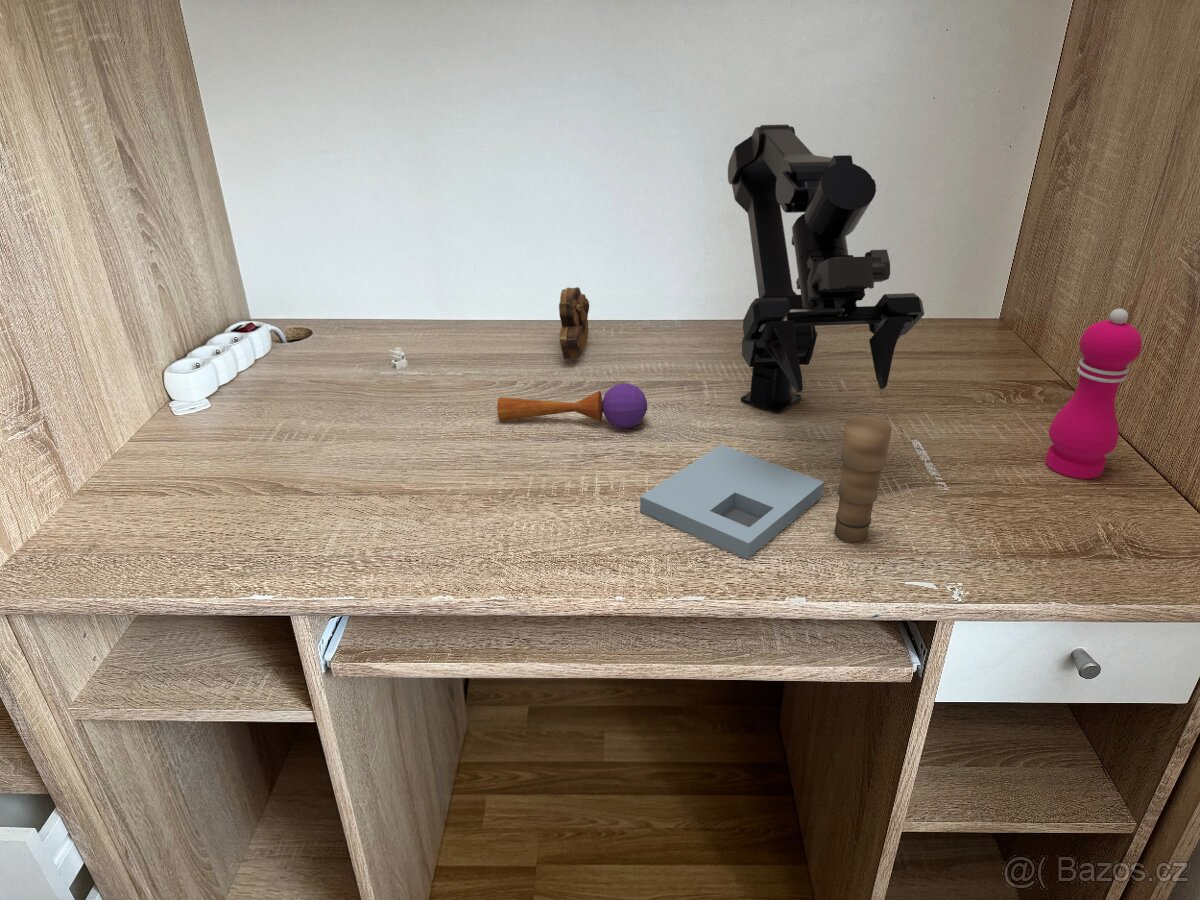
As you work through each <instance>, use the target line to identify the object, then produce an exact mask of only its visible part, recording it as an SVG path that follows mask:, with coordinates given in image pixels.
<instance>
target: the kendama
mask: <svg viewBox="0 0 1200 900" xmlns="http://www.w3.org/2000/svg"><path fill="white" fill-rule="evenodd" d="M496 405H497V407H496V409H497V417H498V421H499V422H507V421H514V420H522V419H527V418H528V419H529V418H536V417H543V416H544V417H545V416H551V415H556V414H557V415H558V414H564V413H571V412H572V413H573V412H576V413H578V414H581V415H583V416H585V417H588V418H590V419H593V420H595V421H598V422H599V423H601V422H602V420H603V416H604V418H605V420H607V422H608V423H610V424H611V425H612V426H614V427H617V428H620V429H630V428H633V427H634V426H636V425H638V424H640V422H641V421H642V420H643V419H644V418H645V416H646V413H647V411H648V400H647V397H646V396H645V393H644V392H643V391H642V390H641V388H639V387H638V386H637V385H634V384H632V383H627V382H626V383H618V384H615V385H613V386H611V387H609V389H608V390H607V391H606V392H605V393H604V396H602V392H601V390H598V391H596V392H594V393H592V394H590V395H588V396H586V397H584V398H582V399H579V400H578V401H576V402H567V401H551V400H539V399H526V398H513V397H498V399H497V403H496Z"/></svg>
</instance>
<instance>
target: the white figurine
mask: <svg viewBox="0 0 1200 900" xmlns="http://www.w3.org/2000/svg"><path fill="white" fill-rule="evenodd" d="M388 351H389V352H391V353H392V354H391V355H390V356H391V357H392V358H393V359H392V360H391V368H394V367H395V368H396V370H399V369H401V368H402V367H403V368H406V367H408V360H406V354H405V353H404V351H403V349H402V348H401V347H394V350H392V349H388Z"/></svg>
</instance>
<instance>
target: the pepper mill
mask: <svg viewBox="0 0 1200 900" xmlns="http://www.w3.org/2000/svg"><path fill="white" fill-rule="evenodd" d="M1108 319H1109V320H1105V319H1104V320H1101V321H1097V322H1094V323H1093V324H1091V325H1090V326H1088V327H1087V328H1086V329H1085V330H1084V332H1083V333H1082V335H1081V337H1080V340H1079V350H1080V352H1081V354H1082V356H1083V357H1081V358H1080V359H1079V362H1078V364H1079V365H1078V366H1077V369H1076V370H1077V373H1078V374H1079V379H1078V383H1077V386H1076V388H1075V391H1074V393H1073V395H1072V396H1071V397H1070V399H1069V400H1068V401H1067V402H1066V404H1065V405H1064V406H1063V407H1061V408H1060V410H1059V411H1058V412H1057V413H1056V415H1055V416H1054V418H1053V420H1052V421H1051V424H1050V426H1049V429H1048V435H1049V439H1050V440H1051V441H1050V442H1051V443H1052V444H1051V445H1050V446H1049V447H1048V449H1047V452H1046V456H1045V464H1046V465H1047V466H1048V468H1050V469H1051V471H1054V472H1056V473H1058V474H1060V475H1062V476H1065V477H1069V478H1074V479H1080V480H1090V479H1096V478H1099V477H1100V476H1101V475H1102V474H1103V472H1104V470H1105V467H1106V463H1107V458H1106V456H1107V455H1109V454H1110V453H1111V452H1113V451H1114V450H1115V449H1116V447H1117V445H1118V440H1119V436H1120V429H1119V422H1118V418H1117V415H1116V408H1115V407H1116V406H1115V405H1116V396H1117V393H1118V390H1119V387H1120V385H1121V383H1122V382H1124V381H1125V380H1127V378H1128V372H1130V366H1129V364H1130V363H1133V362H1134V361H1135V360H1136V359H1137V358H1138V357H1139V356H1140V353H1141V351H1142V347H1143V340H1142V336H1141V334H1140V332H1139V330H1138V329H1136V328H1135V327H1134V326H1133V325H1131V324H1129V323H1127V321H1128V319H1129V314H1128V311H1127V310H1125V309H1124V308H1115V309H1114V310H1112V311H1111V312H1110V314H1109V317H1108Z"/></svg>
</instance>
